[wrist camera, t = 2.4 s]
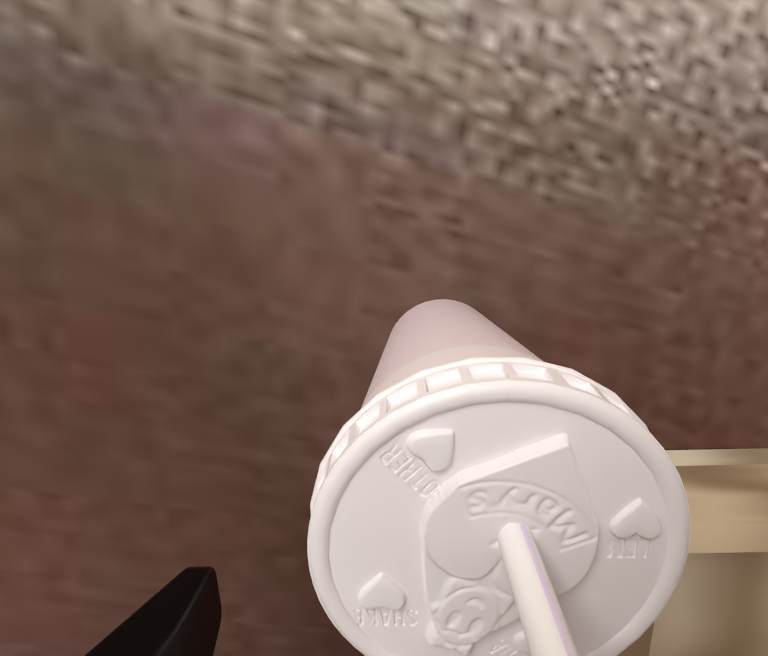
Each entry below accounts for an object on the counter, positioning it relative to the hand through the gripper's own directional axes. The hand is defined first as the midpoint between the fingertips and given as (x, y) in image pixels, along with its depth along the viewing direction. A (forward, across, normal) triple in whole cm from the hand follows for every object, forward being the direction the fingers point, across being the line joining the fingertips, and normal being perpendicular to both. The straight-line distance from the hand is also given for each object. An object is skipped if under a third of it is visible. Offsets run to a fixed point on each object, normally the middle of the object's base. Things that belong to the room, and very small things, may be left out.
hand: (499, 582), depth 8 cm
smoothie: (+10, 0, 0) cm, 10 cm away
